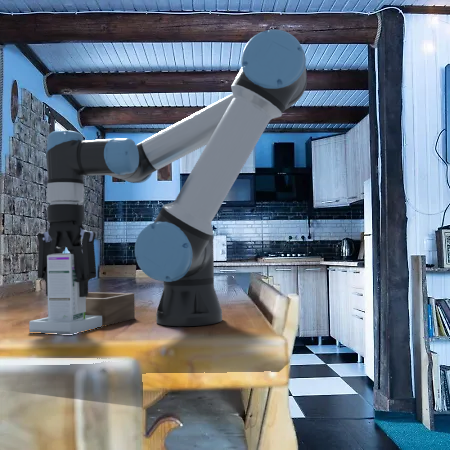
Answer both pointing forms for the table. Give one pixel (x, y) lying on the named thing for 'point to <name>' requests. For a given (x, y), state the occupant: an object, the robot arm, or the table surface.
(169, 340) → the table surface
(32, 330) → the tray
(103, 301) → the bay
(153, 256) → the robot arm
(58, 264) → the syrup box
